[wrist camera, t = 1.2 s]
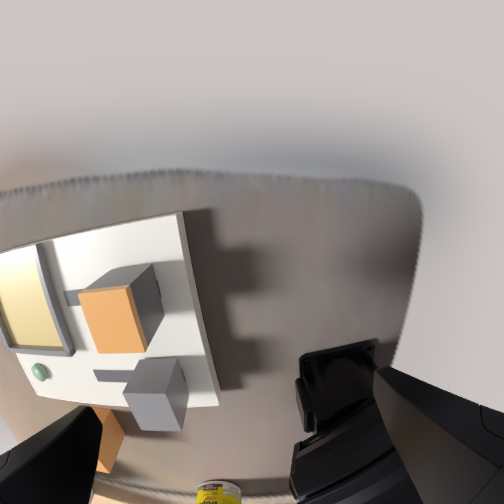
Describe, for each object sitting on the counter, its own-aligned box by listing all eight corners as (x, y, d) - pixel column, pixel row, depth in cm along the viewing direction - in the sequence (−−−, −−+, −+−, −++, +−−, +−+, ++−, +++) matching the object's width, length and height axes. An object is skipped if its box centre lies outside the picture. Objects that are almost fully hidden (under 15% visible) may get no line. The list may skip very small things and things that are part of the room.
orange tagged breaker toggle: (152, 263, 17) (125, 288, 13) (165, 315, 18) (145, 352, 13) (111, 269, 17) (77, 293, 12) (125, 318, 18) (98, 353, 13)
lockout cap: (110, 409, 23) (90, 450, 17) (125, 434, 24) (109, 474, 18) (81, 405, 23) (58, 443, 17) (96, 430, 24) (78, 467, 18)
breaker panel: (182, 211, 19) (171, 216, 16) (220, 390, 22) (218, 414, 19) (-4, 252, 18) (-25, 260, 15) (45, 385, 22) (33, 401, 19)
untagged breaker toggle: (177, 357, 19) (165, 393, 15) (189, 394, 19) (181, 431, 16) (139, 359, 19) (122, 392, 15) (153, 395, 19) (141, 430, 16)
